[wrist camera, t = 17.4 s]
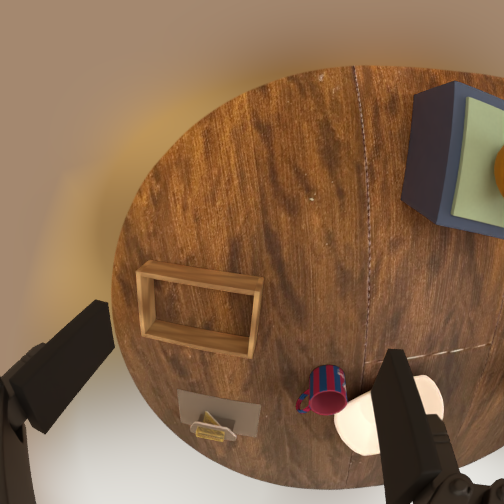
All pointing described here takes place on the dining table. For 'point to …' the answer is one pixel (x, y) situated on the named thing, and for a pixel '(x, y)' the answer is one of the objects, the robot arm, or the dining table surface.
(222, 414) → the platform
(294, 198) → the dining table surface
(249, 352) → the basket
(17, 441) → the robot arm
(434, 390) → the bowl
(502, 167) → the apple
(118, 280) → the dining table surface
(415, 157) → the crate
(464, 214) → the mat
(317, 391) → the mug
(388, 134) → the dining table surface
